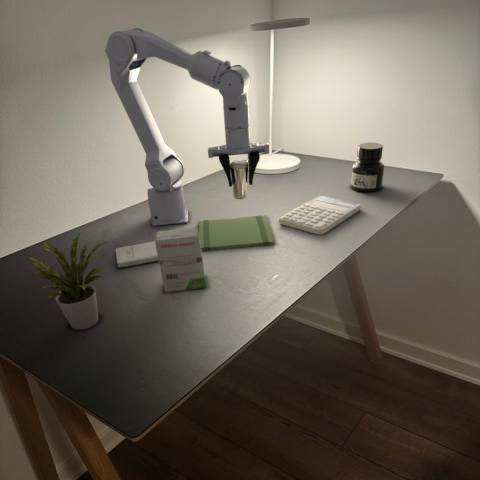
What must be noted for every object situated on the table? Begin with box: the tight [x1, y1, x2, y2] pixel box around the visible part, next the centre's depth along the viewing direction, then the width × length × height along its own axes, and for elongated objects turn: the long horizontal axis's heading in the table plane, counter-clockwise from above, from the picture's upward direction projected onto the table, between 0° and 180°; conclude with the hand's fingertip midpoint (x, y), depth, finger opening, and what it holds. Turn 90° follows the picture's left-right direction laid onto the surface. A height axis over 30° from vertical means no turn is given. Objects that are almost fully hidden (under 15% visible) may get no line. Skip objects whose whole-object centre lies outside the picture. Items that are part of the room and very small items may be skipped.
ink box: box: [154, 226, 207, 293], centre depth 90 cm, size 9×5×12 cm, turn 96°
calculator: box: [278, 194, 362, 236], centre depth 117 cm, size 13×20×2 cm, turn 139°
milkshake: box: [230, 159, 250, 200], centre depth 110 cm, size 4×5×10 cm
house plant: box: [25, 232, 111, 330], centre depth 81 cm, size 14×14×16 cm
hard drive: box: [115, 240, 159, 269], centre depth 105 cm, size 2×8×12 cm
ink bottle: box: [350, 142, 385, 193], centre depth 129 cm, size 10×9×12 cm
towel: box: [198, 214, 276, 252], centre depth 112 cm, size 18×16×1 cm
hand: (240, 184), depth 111 cm, fingers closed on milkshake, 4 cm apart
